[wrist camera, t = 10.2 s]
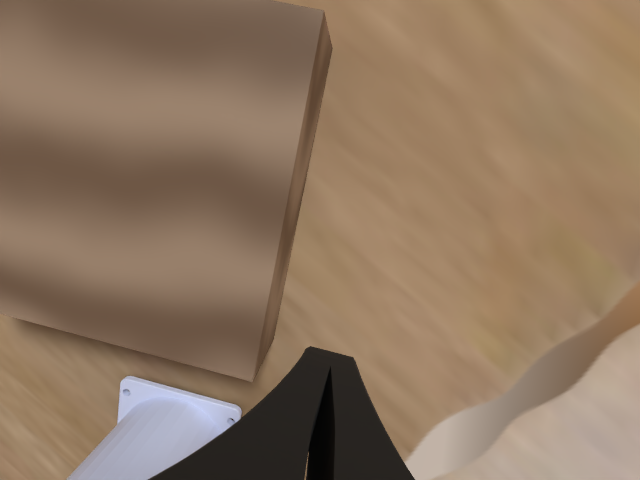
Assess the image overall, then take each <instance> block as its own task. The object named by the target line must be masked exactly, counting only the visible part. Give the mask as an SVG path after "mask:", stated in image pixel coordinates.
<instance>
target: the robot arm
mask: <svg viewBox="0 0 640 480" xmlns="http://www.w3.org/2000/svg"><path fill="white" fill-rule="evenodd" d="M127 389H128V390H129V391H128V390H127ZM241 415H242V410H241V408H240V407H239V406H237V405H235V404H231V403H227V402H224V401H220V400H216V399H213V398H209V397H206V396H202V395H198V394H195V393H191V392H187V391H184V390H180V389H177V388H173V387H169V386H166V385H162V384H158V383H155V382H151V381H148V380H144V379H140V378H137V377H133V376H126V377H125V378H124V379H123V380H122V381H121V383H120V396H119V409H118V422H117V425H116V427H115V428H114V429H113V430H112V431H111V432H110V433H109V434H108V435H107V436H106V437H105V438H104V439H103V440H102V442H101V443H100V444H99V445H98V446H97V447H96V448H95V449H94V450H93V451H92V452H91V453H90V454H89V456H88V457H87V458H86V459H85V460H84V461H83V462H82V463H81V464H80V465H79V466H78V467H77V468H76V470H75V471H74V472H73V473H72V474H71V475H70V476H69V477H68V478H67V479H66V480H304V476H305V469H306V463H307V456H308V451H309V456H308V466H307V477H306V480H415V479H414V477H413V476H412V474H411V473H410V471H409V470H408V468H407V467H406V465H405V463H404V462H403V460H402V459H401V457H400V455H399V453H398V452H397V450H396V448H395V446H394V445H393V443H392V441H391V439H390V437H389V436H388V434H387V432H386V430H385V428H384V426H383V424H382V422H381V420H380V418H379V416H378V414H377V412H376V410H375V408H374V406H373V404H372V402H371V400H370V397H369V395H368V393H367V390H366V388H365V386H364V383H363V381H362V378H361V376H360V373H359V370H358V367H357V365H356V362H355V360H354V358H353V357H350V356H346V355H342V354H338V353H334V352H330V351H327V350H323V349H319V348H315V347H311V346H310V347H308V348H306V349H305V352H304V353H303V355H302V356H301V358H300V359H299V361H298V362H297V363H296V365H295V366H294V367H293V368H292V370H291V371H290V372H289V373H288V374H287V375H286V376H285V377H284V379H283V380H282V381H281V382H280V383H279V384H278V385H277V386H276V387H275V388H274V389H273V390H272V391H271V392H270V393H269V394H268V395H267V396H266V397H265V398H264V399H263V400H262V401H260V402H259V403H258V404H257V405H256V406H255V407H254V408H253V409H252V410H250V411H249V412H248V413H247V414H246V415H245V416H243V417H242V418H241ZM230 418H232V419H234V421H233V420H231V419H230Z"/></svg>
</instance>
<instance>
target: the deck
mask: <svg viewBox="0 0 640 480" xmlns="http://www.w3.org/2000/svg"><path fill="white" fill-rule="evenodd" d="M331 53H332V44H331V40H330V35H329V31H328V27H327V22H326V18H325V13H324V10H319V9H313V8H308V7H303V6H298V5H293V4H288V3H283V2H278V1H272V0H0V314H3V315H6V316H10V317H14V318H18V319H21V320H25V321H29V322H32V323H36V324H40V325H43V326H47V327H51V328H55V329H58V330H62V331H66V332H69V333H73V334H77V335H80V336H84V337H88V338H91V339H95V340H99V341H103V342H106V343H110V344H114V345H117V346H121V347H125V348H128V349H132V350H136V351H140V352H143V353H147V354H151V355H154V356H158V357H162V358H165V359H169V360H173V361H177V362H180V363H184V364H188V365H191V366H195V367H199V368H202V369H206V370H210V371H214V372H217V373H221V374H225V375H228V376H232V377H236V378H239V379H243V380H247V381H251V382H253V380H254V378H255V376H256V374H257V372H258V370H259V368H260V366H261V364H262V362H263V359H264V357H265V355H266V353H267V351H268V349H269V347H270V345H271V343H272V341H273V339H274V334H275V329H276V324H277V319H278V314H279V309H280V304H281V299H282V294H283V289H284V285H285V280H286V275H287V270H288V265H289V260H290V255H291V250H292V245H293V240H294V235H295V230H296V225H297V220H298V216H299V211H300V206H301V201H302V196H303V191H304V186H305V181H306V176H307V171H308V166H309V161H310V156H311V151H312V147H313V142H314V137H315V132H316V127H317V122H318V117H319V112H320V107H321V102H322V97H323V92H324V87H325V82H326V78H327V73H328V68H329V63H330V58H331Z"/></svg>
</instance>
